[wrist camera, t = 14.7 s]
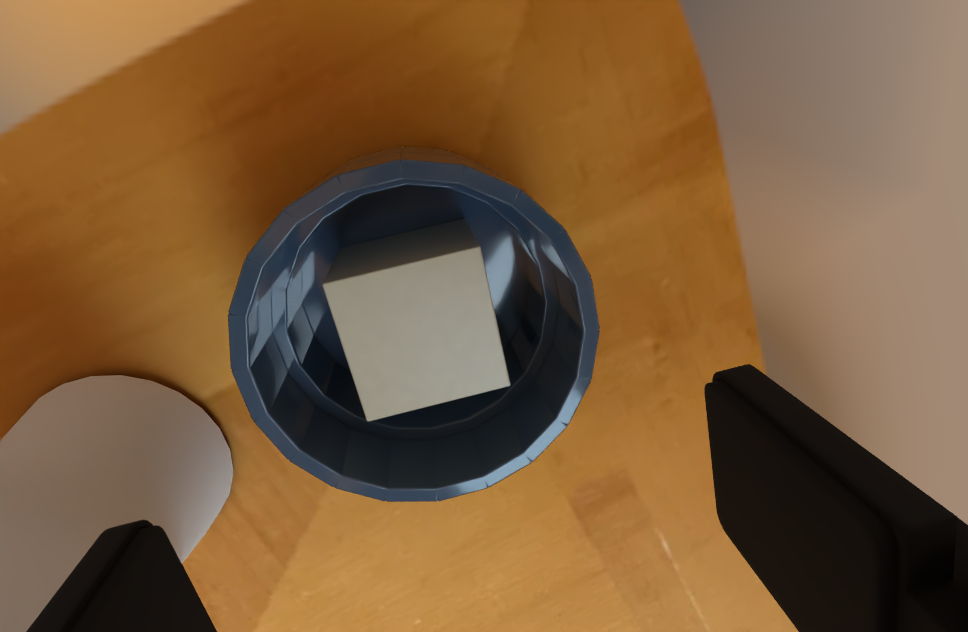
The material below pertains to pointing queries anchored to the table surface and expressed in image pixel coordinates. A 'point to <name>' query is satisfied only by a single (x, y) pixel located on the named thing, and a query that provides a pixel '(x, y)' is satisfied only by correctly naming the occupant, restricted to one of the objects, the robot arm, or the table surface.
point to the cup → (101, 480)
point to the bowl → (321, 359)
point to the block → (416, 319)
